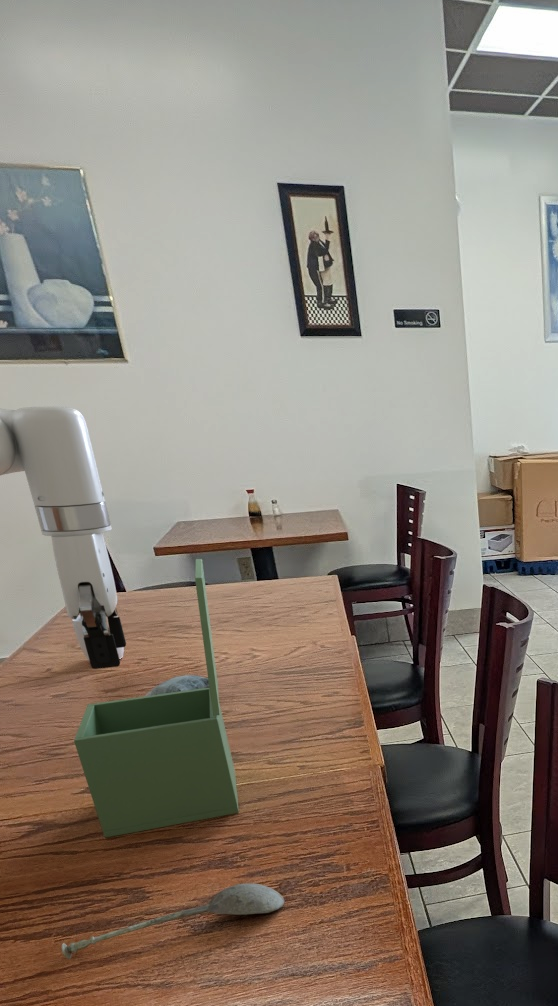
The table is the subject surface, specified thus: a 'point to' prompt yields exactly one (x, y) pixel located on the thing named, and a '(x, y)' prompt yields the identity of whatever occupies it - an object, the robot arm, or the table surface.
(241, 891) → the soupspoon
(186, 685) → the grey blue stone
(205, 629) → the lid
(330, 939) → the table surface
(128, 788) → the chest
